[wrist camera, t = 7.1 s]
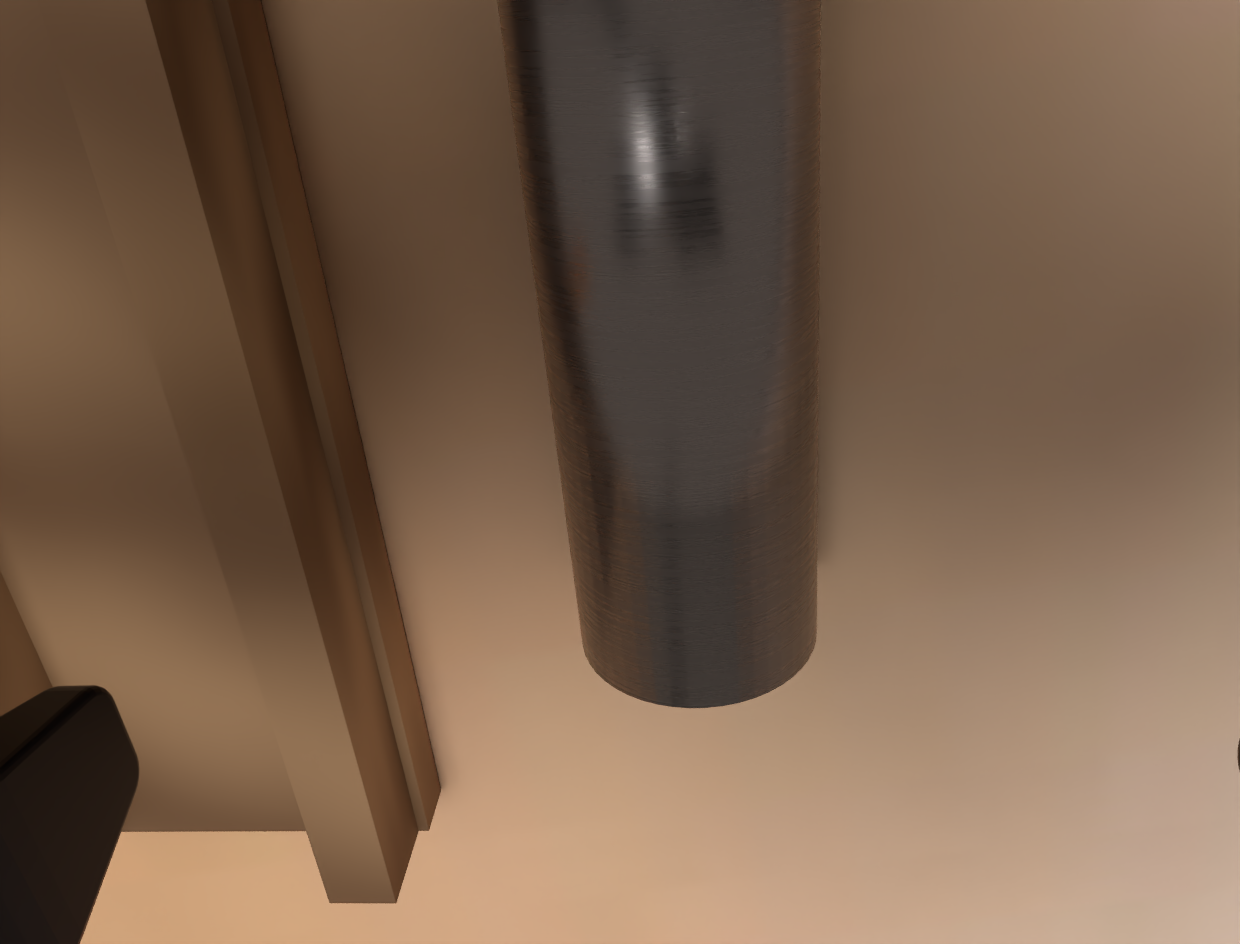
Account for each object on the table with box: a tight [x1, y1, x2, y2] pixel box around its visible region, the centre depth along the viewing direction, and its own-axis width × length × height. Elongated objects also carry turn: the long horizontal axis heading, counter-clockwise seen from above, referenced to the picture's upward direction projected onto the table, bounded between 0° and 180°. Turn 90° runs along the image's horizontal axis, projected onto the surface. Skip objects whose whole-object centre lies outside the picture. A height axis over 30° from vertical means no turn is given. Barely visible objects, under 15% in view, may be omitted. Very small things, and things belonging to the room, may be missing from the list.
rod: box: [497, 0, 821, 708], centre depth 12 cm, size 14×4×4 cm, turn 5°
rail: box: [0, 0, 441, 903], centre depth 15 cm, size 16×8×3 cm, turn 5°
